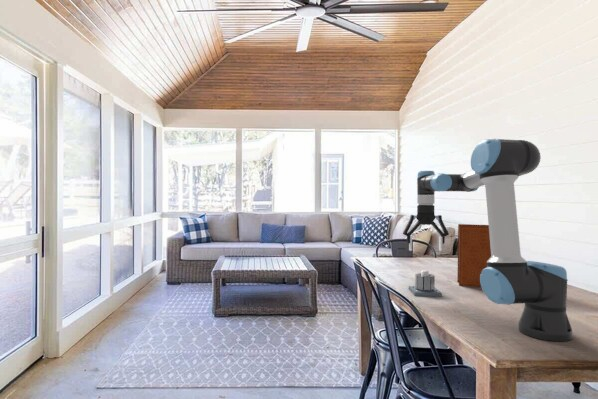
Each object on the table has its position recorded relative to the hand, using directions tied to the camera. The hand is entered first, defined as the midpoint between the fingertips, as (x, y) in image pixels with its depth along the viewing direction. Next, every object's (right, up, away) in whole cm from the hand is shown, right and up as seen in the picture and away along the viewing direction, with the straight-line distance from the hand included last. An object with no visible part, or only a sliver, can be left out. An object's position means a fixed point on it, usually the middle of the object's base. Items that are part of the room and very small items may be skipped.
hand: (425, 250), depth 180 cm
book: (+34, -20, +16) cm, 42 cm away
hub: (0, -17, +1) cm, 17 cm away
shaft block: (0, -19, +1) cm, 19 cm away
